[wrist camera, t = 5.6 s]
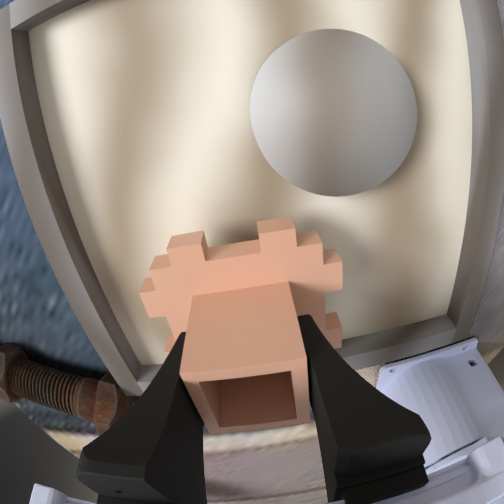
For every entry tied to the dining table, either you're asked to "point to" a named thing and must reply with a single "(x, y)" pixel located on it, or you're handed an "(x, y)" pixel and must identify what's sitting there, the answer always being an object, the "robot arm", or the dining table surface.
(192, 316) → the gear
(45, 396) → the bolt
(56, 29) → the carrier plate
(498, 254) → the dining table surface
